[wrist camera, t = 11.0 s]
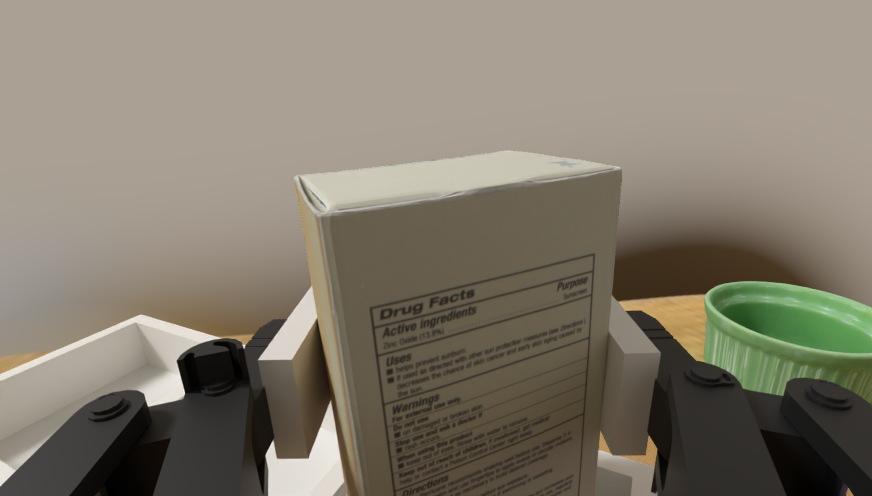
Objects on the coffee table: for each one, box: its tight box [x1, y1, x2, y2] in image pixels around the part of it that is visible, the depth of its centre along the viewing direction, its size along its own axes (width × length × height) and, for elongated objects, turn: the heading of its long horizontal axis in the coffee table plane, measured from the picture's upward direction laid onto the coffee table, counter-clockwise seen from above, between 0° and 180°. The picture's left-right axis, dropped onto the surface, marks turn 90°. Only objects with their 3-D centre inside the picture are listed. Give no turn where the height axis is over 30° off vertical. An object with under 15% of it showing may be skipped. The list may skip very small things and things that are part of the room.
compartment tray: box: [0, 315, 657, 496], centre depth 18 cm, size 30×11×4 cm, turn 64°
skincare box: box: [294, 151, 622, 496], centre depth 11 cm, size 6×4×12 cm
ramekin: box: [704, 281, 872, 405], centre depth 25 cm, size 9×9×4 cm
